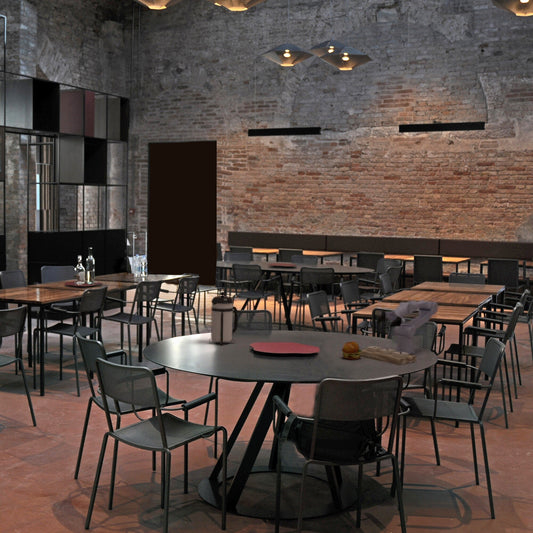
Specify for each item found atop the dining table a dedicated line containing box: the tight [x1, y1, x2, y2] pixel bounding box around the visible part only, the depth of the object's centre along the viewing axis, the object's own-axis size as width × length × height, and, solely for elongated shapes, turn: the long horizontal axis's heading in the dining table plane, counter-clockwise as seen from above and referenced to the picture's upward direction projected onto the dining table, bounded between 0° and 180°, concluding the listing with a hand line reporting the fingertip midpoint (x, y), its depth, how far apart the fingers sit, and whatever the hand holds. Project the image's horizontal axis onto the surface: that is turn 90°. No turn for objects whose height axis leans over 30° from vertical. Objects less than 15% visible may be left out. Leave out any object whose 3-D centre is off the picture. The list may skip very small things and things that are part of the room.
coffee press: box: [208, 291, 239, 346], centre depth 430 cm, size 17×16×30 cm
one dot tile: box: [366, 345, 383, 352], centre depth 405 cm, size 6×6×3 cm
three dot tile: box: [392, 351, 410, 358], centre depth 391 cm, size 6×6×3 cm
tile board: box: [361, 348, 417, 366], centre depth 398 cm, size 14×28×3 cm, turn 41°
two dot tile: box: [379, 348, 396, 355], centre depth 398 cm, size 6×6×3 cm
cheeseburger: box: [341, 341, 363, 360], centre depth 397 cm, size 10×11×10 cm
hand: (384, 323), depth 396 cm, fingers open, 7 cm apart
